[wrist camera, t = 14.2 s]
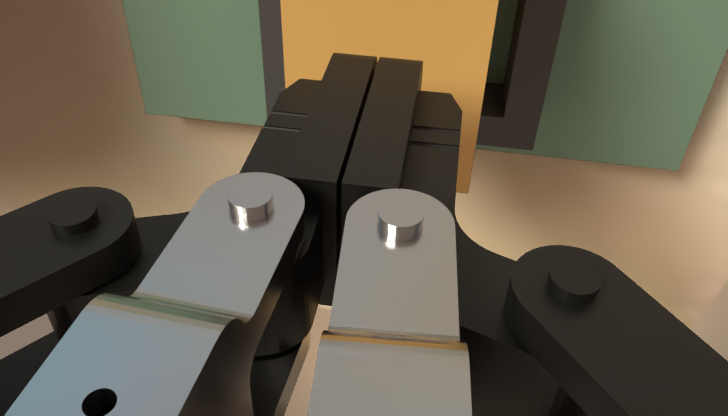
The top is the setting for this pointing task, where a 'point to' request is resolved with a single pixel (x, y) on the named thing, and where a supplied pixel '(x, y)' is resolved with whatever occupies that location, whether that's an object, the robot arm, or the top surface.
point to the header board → (504, 76)
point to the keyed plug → (400, 47)
